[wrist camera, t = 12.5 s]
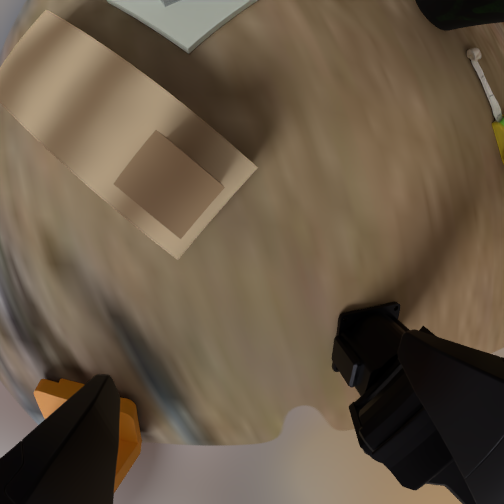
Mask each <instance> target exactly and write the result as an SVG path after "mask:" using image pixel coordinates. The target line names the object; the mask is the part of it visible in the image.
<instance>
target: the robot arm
mask: <svg viewBox="0 0 504 504" xmlns="http://www.w3.org/2000/svg"><path fill="white" fill-rule="evenodd" d="M399 311H400V304H399V303H397V302H392V303H387V304H383V305H378V306H374V307H369V308H364V309H360V310H355V311H350V312H344V313H342V314H341V315H340V316H339V318H338V327H337V335H336V337H335V339H334V346H333V353H332V361H333V363H332V369H333V370H334V371H335V372H338V371H339V372H340V373H341V375H342V376H343V378H344V379H345V381H346V383H347V384H348V386H350V387H354V386H355V388H356V389H357V391H358V392H359V394H360V396H361V397H360V398H359V399H358V400H357V401H355V402H353V403H352V404H351V405H350V406H349V410H350V413H351V417H352V421H353V424H354V427H355V431H356V434H357V438H358V441H359V445H360V447H361V448H362V449H363V450H364V452H365V453H366V454H368V455H370V456H371V457H372V458H373V459H374V460H376V461H378V462H380V463H383V464H384V465H385V466H386V467H387V468H388V469H389V470H390V471H391V472H392V474H393V475H394V476H395V477H396V479H397V480H398V481H399V482H400V484H401V485H402V486H404V487H406V488H409V489H412V490H417V489H419V488H420V487H422V486H423V485H424V484H433V485H443V486H445V487H446V488H447V489H449V490H450V492H451V493H453V495H454V496H455V497H456V498H457V499H459V501H460V502H461V503H462V504H504V358H502V357H499V356H496V355H493V354H489V353H486V352H483V351H480V350H477V349H473V348H470V347H467V346H464V345H461V344H458V343H454V342H451V341H448V340H445V339H442V338H439V337H437V336H435V335H434V334H433V333H432V332H430V331H429V330H428V329H427V328H425V327H424V326H422V328H421V329H420V330H419V331H418V330H409V329H408V328H407V327H406V326H404V325H403V324H402V323H401V322H400V321H399V320H398V316H399ZM345 317H346V319H345V320H343V319H344V318H345ZM119 421H120V395H119V393H118V391H117V388H116V386H115V384H114V382H113V379H112V378H111V376H110V375H105V374H98V375H96V376H94V377H93V378H92V379H91V380H90V381H89V382H87V383H86V384H85V385H84V386H83V387H82V388H80V389H79V390H78V391H77V392H76V393H75V394H74V395H72V396H71V397H70V398H69V399H68V400H67V401H66V402H64V403H63V404H62V405H61V406H60V407H59V408H58V409H56V410H55V411H54V412H53V413H52V414H51V415H50V416H49V417H47V418H46V419H45V420H44V421H43V422H42V423H41V424H39V425H38V426H37V427H36V428H35V429H34V430H33V431H32V432H30V433H29V434H28V435H27V436H26V437H25V438H24V439H23V440H22V441H20V442H19V443H18V444H17V445H16V446H15V447H13V448H12V449H11V450H10V451H9V452H7V453H6V454H5V455H4V456H3V457H1V458H0V504H113V496H114V484H115V474H116V464H117V456H118V447H119Z"/></svg>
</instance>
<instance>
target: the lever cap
mask: <svg viewBox="0 0 504 504" xmlns="http://www.w3.org/2000/svg"><path fill="white" fill-rule="evenodd" d="M178 1H180V0H161V2H162V3H163V5H164V6H165V7H166V6H169V5H171V4H173V3H176V2H178Z"/></svg>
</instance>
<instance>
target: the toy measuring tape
mask: <svg viewBox="0 0 504 504" xmlns="http://www.w3.org/2000/svg"><path fill="white" fill-rule="evenodd" d="M467 57H468V58H470V59H471V62H472V65H473V67H474V68H475V70H476V72H477V74H478V76H479V78H480V80H481V83H482V85H483V88H484V90H485V93H486V95H487V98H488V100H489V102H490V105H491V107H492V111H493V116H494V117H495V119H496V120H495V121H494V122H493V123H492V127H493V130H494V134H495V137H496V140H497V144H498V148H499V151H500V155H501V159H502V162H503V164H504V115H502V113H501V109H500V106H499V104H498V102H497V100H496V98H495V96H494V95H493V93H492V91H491V89H490V87H489V85H488V83H487V80H486V78H485V76H484V73H483V71H482V69H481V67H480V65H479V63H478V61H477V60H478V59H481V52H480V50H479V49H478V48H472V49H469V50H467Z"/></svg>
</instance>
